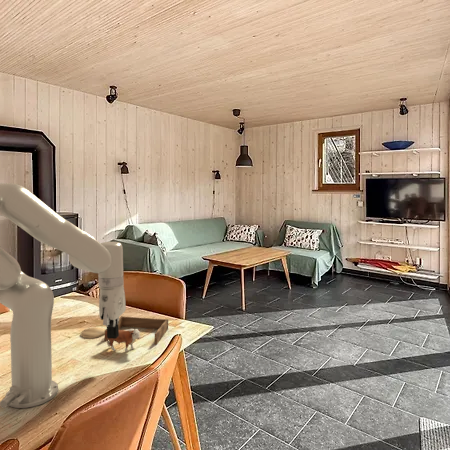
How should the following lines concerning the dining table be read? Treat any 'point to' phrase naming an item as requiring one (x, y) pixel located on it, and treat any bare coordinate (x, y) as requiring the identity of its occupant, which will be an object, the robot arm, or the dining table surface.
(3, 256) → the robot arm
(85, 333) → the oak coaster
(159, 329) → the walnut tray
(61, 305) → the dining table surface
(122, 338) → the bull figurine
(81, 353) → the dining table surface
